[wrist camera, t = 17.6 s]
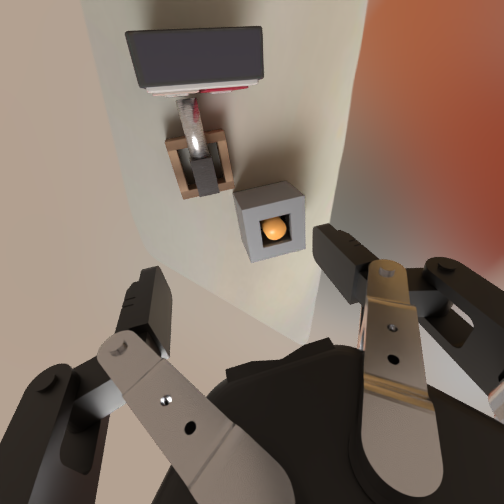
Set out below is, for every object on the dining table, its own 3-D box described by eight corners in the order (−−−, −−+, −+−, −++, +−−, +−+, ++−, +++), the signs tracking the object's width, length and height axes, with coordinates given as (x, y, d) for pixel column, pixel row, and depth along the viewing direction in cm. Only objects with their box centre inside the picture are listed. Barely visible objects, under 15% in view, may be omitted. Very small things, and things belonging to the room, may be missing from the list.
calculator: (157, 98, 32) (141, 98, 20) (147, 57, 30) (122, 30, 18) (236, 91, 34) (265, 88, 22) (232, 53, 32) (263, 25, 20)
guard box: (232, 192, 42) (241, 210, 35) (286, 180, 43) (304, 195, 37) (242, 240, 48) (251, 263, 41) (289, 228, 49) (305, 248, 42)
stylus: (173, 101, 28) (199, 197, 35) (198, 96, 29) (219, 192, 35) (174, 101, 31) (198, 190, 37) (197, 97, 31) (217, 187, 38)
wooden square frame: (165, 139, 35) (164, 142, 33) (221, 128, 36) (224, 130, 34) (183, 193, 40) (183, 199, 38) (231, 182, 41) (234, 188, 39)
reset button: (256, 211, 42) (264, 223, 38) (275, 206, 42) (285, 218, 38) (258, 228, 44) (266, 242, 40) (277, 224, 44) (286, 237, 40)
